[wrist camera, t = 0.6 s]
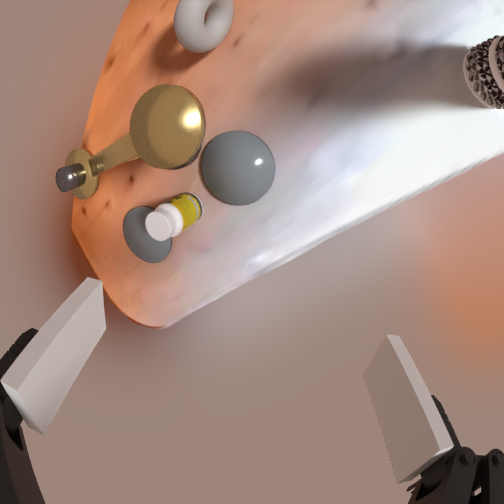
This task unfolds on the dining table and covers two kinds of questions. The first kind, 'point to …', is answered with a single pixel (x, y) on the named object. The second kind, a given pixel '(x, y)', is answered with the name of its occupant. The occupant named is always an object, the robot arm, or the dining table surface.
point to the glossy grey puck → (238, 167)
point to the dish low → (144, 237)
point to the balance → (143, 140)
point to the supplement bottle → (174, 216)
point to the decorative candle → (486, 72)
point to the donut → (202, 23)
